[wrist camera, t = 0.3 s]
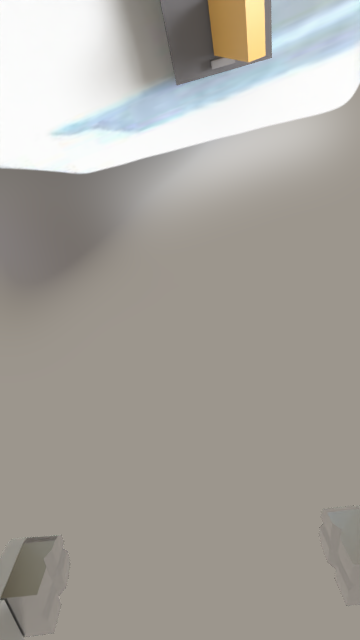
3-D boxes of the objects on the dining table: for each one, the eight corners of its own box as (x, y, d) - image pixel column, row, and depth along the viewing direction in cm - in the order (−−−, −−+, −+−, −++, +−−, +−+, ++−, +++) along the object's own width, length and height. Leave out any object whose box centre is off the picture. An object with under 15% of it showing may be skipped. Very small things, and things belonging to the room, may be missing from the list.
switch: (207, -2, 35) (244, -5, 29) (223, -9, 35) (264, -12, 30) (214, 55, 38) (248, 62, 33) (229, 49, 39) (265, 55, 33)
